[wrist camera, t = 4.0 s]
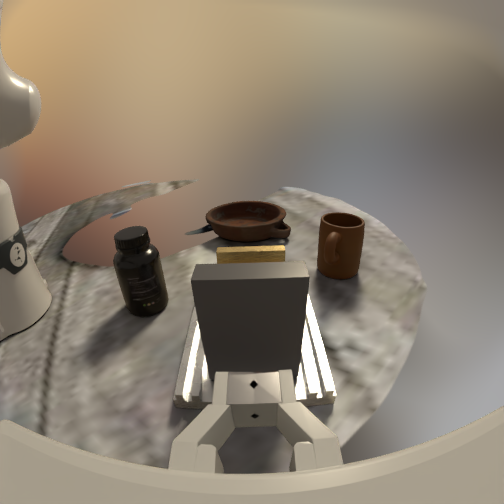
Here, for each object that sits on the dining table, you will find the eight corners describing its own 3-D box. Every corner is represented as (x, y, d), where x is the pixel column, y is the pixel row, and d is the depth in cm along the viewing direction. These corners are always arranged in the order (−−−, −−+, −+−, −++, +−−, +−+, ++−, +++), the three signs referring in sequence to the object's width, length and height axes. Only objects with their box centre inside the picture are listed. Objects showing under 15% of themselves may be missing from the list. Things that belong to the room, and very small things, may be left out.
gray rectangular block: (209, 378, 27) (190, 280, 21) (214, 336, 33) (202, 244, 27) (298, 376, 27) (309, 276, 21) (291, 334, 33) (296, 241, 27)
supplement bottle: (124, 298, 43) (106, 230, 37) (163, 287, 45) (150, 219, 40) (130, 323, 37) (108, 247, 32) (174, 310, 40) (159, 234, 35)
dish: (227, 214, 78) (226, 196, 76) (304, 226, 68) (305, 206, 66) (186, 237, 65) (183, 216, 62) (274, 256, 55) (274, 232, 52)
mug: (346, 299, 41) (355, 242, 37) (300, 287, 45) (304, 232, 40) (361, 264, 50) (368, 216, 46) (323, 256, 54) (327, 209, 50)
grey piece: (176, 407, 25) (154, 352, 21) (200, 296, 43) (192, 246, 39) (333, 403, 25) (351, 347, 21) (304, 293, 43) (308, 243, 39)
